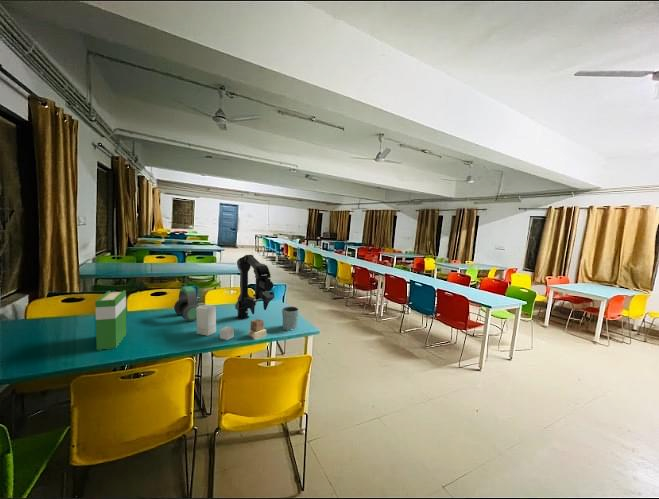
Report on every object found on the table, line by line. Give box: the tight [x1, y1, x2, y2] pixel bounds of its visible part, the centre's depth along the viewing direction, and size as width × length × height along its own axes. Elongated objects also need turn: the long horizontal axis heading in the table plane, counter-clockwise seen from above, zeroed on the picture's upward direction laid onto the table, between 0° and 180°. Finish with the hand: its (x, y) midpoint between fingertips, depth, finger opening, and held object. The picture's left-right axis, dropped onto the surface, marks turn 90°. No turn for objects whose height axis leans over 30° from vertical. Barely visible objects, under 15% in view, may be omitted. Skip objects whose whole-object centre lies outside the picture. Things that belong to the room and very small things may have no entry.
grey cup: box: [281, 306, 299, 331], centre depth 167 cm, size 10×10×12 cm
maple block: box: [248, 327, 267, 340], centre depth 153 cm, size 7×7×4 cm
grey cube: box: [219, 326, 235, 341], centre depth 149 cm, size 5×5×5 cm
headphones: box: [173, 286, 200, 322], centre depth 172 cm, size 19×11×20 cm, turn 48°
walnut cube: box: [250, 318, 265, 332], centre depth 153 cm, size 5×5×5 cm
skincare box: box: [196, 304, 217, 337], centre depth 152 cm, size 8×7×16 cm
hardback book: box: [94, 289, 127, 351], centre depth 135 cm, size 18×7×24 cm, turn 24°
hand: (259, 311), depth 159 cm, fingers open, 9 cm apart
